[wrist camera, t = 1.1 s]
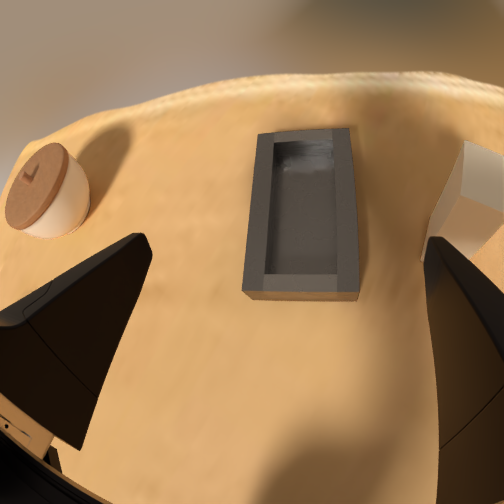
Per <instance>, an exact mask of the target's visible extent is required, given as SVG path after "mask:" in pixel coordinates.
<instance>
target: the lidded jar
mask: <svg viewBox="0 0 504 504" xmlns="http://www.w3.org/2000/svg"><path fill="white" fill-rule="evenodd" d="M89 208H90V190H89V183H88V179H87V176H86V174H85V172H84V170H83V169H82V167H81V166H80V164H79V163H78V162H77V161H76V160H75V158H74V157H73V156H72V155H71V154H69V153H68V152H67V150H66V149H65V148H64V147H63V146H62V145H61V144H59V143H50V144H48V145H46V146H44V147H42V148H41V149H39V150H38V151H37V152H36V153H35V154H34V155H33V156H32V157H31V158H30V159H29V160H28V161H27V162H26V163H25V165H24V166H23V167H22V169H21V170H20V172H19V173H18V175H17V177H16V178H15V180H14V182H13V184H12V187H11V189H10V191H9V194H8V198H7V201H6V207H5V217H6V221H7V223H8V224H9V225H10V226H11V227H13V228H14V229H17V230H20V231H22V232H24V233H26V234H28V235H30V236H33V237H36V238H40V239H48V240H49V239H57V238H60V237H62V236H64V235H68V234H71V233H73V232H74V231H75V230H77V229H78V228H79V227H80V225H81V224H82V223H83V221H84V220H85V218H86V216H87V214H88V211H89Z"/></svg>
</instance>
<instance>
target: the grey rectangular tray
mask: <svg viewBox="0 0 504 504" xmlns="http://www.w3.org/2000/svg"><path fill="white" fill-rule="evenodd" d="M242 291H243V292H244V293H245V294H246V295H248V296H249V297H250V298H251V299H252V300H272V301H357V299H358V295H359V245H358V223H357V206H356V192H355V180H354V169H353V160H352V150H351V142H350V134H349V128H342V129H318V130H301V131H287V132H275V133H264V134H258V138H257V148H256V157H255V166H254V176H253V185H252V195H251V205H250V214H249V224H248V234H247V243H246V253H245V263H244V273H243V283H242Z"/></svg>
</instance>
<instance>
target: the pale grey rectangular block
mask: <svg viewBox="0 0 504 504" xmlns="http://www.w3.org/2000/svg"><path fill="white" fill-rule="evenodd" d="M503 224H504V156H503V155H501V154H499V153H496V152H494V151H492V150H489V149H487V148H484V147H482V146H479V145H477V144H474V143H472V142H469V141H466V140H464V143H463V145H462V148H461V150H460V153H459V155H458V157H457V160H456V162H455V165H454V167H453V169H452V172H451V174H450V176H449V178H448V181H447V183H446V185H445V187H444V189H443V191H442V194H441V196H440V198H439V200H438V202H437V204H436V206H435V208H434V210H433V212H432V214H431V216H430V219H429V224H428V229H427V233H426V238H425V242H424V246H423V250H422V254H421V258H420V261H422V262H424V257H425V252H426V247H427V242H428V239H429V237H430V236H442V237H444V238H445V239H446V240H447V241H448V242H449V243H451V244H452V245H453V246H454V247H455V248H456V249H457V250H459V251H460V252H461V253H462V254H463V255H464V256H465V257H466V258H467V259H470V258H471V257H472V256H473V255H474V254H475V253H476V252H477V251H478V250H479V249H480V248H481V247H482V246H483V245H484V244H485V243H486V242H487V241H488V240H489V239H490V238H491V237H492V236H493V235H494V233H495V232H496V231H497V230H498V229H499V228H500V227H501V226H502V225H503Z"/></svg>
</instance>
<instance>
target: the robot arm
mask: <svg viewBox="0 0 504 504" xmlns="http://www.w3.org/2000/svg"><path fill="white" fill-rule="evenodd" d="M151 261H152V250H151V248H150V245H149V243H148V240H147V238H146V236H145V234H143V233H132V234H130V235H128V236H126V237H124V238H123V239H121V240H119V241H117V242H116V243H114V244H112V245H110V246H108V247H107V248H105V249H103V250H101V251H100V252H98V253H96V254H95V255H93V256H91V257H89V258H88V259H86V260H84V261H83V262H81V263H79V264H78V265H76V266H74V267H73V268H71V269H69V270H68V271H66V272H64V273H63V274H61V275H59V276H58V277H56V278H55V279H54V280H51V281H50V282H48V283H47V284H45V285H43V286H42V287H40V288H38V289H37V290H35V291H34V292H32V293H30V294H29V295H27V296H25V297H24V298H22V299H20V300H18V301H17V302H15V303H13V304H12V305H10V306H8V307H7V308H5V309H3V310H2V311H0V504H113V503H111V502H109V501H107V500H105V499H103V498H101V497H99V496H98V495H96V494H94V493H92V492H91V491H89V490H87V489H85V488H84V487H82V486H80V485H79V484H77V483H76V482H74V481H72V480H71V479H69V478H68V477H66V476H65V475H63V474H62V470H61V466H60V461H59V457H58V453H57V449H56V448H54V447H53V446H51V445H50V444H51V442H52V440H53V438H54V436H55V437H57V438H58V439H60V440H61V441H63V442H65V443H66V444H68V445H70V446H72V447H73V448H75V449H77V450H79V451H80V450H81V448H82V446H83V443H84V440H85V436H86V433H87V430H88V427H89V424H90V421H91V418H92V415H93V412H94V409H95V406H96V404H97V401H98V397H99V395H100V392H101V389H102V386H103V384H104V381H105V378H106V376H107V373H108V370H109V368H110V365H111V362H112V360H113V357H114V355H115V352H116V350H117V347H118V345H119V342H120V340H121V337H122V335H123V333H124V330H125V328H126V325H127V323H128V321H129V318H130V316H131V314H132V311H133V309H134V307H135V304H136V302H137V300H138V297H139V295H140V292H141V289H142V287H143V284H144V281H145V278H146V275H147V272H148V269H149V266H150V263H151ZM424 276H425V287H426V301H427V313H428V320H429V326H430V333H431V340H432V347H433V355H434V364H435V374H436V385H437V399H438V420H439V463H438V485H437V498H436V504H504V293H503V292H502V291H501V290H500V289H499V288H498V287H497V286H496V285H495V284H494V283H493V282H492V281H491V280H490V279H489V278H488V277H487V276H486V275H484V274H483V273H482V272H481V271H480V270H479V269H478V268H477V267H476V266H475V265H474V264H473V263H472V262H471V261H470V260H469V259H467V258H466V257H465V256H464V255H463V254H462V253H461V252H460V251H459V250H457V249H456V248H455V247H454V246H453V245H452V244H451V243H449V242H448V241H447V240H446V239H445V238H444V237H442V236H430V237H429V239H428V242H427V247H426V252H425V257H424Z"/></svg>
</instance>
